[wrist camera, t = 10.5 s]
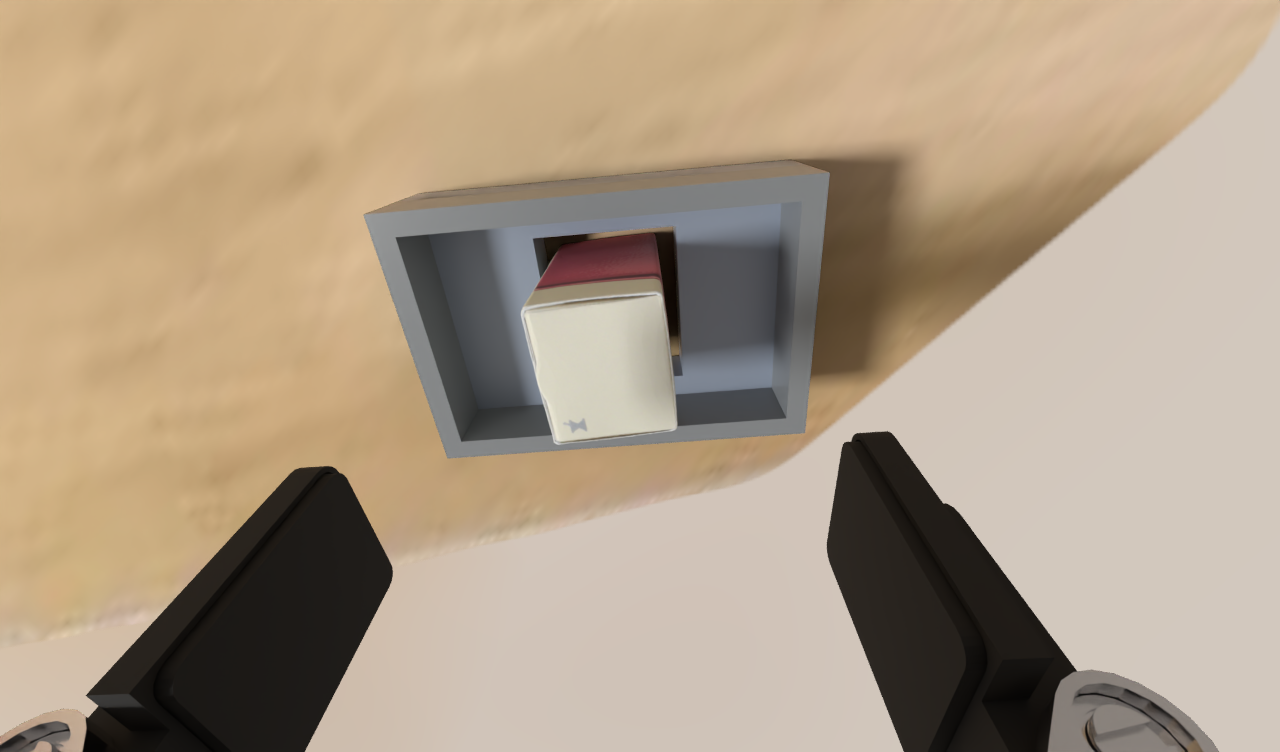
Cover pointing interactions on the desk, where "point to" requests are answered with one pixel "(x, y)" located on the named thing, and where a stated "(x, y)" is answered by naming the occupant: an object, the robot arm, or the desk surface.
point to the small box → (602, 341)
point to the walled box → (705, 286)
